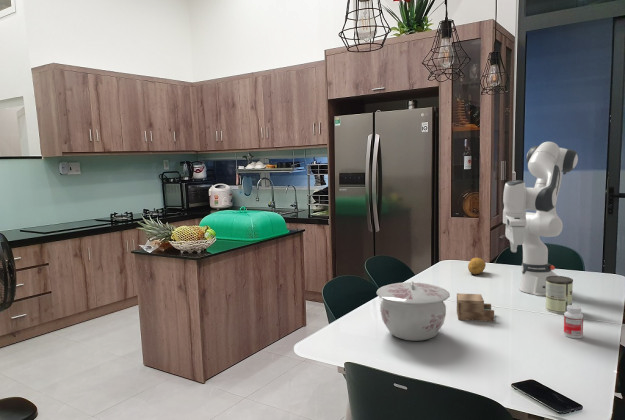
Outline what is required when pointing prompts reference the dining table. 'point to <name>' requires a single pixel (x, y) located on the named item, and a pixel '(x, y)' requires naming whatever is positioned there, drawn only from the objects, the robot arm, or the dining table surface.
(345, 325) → the dining table surface
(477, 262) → the potato
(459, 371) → the dining table surface
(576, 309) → the pill bottle
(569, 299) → the coffee can
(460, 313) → the wooden stepped block
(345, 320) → the dining table surface
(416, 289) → the chamber pot
